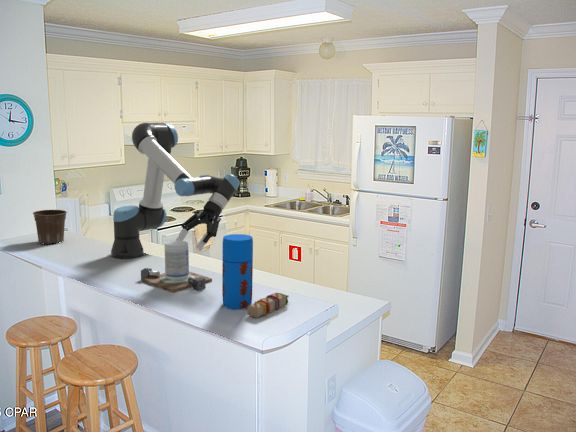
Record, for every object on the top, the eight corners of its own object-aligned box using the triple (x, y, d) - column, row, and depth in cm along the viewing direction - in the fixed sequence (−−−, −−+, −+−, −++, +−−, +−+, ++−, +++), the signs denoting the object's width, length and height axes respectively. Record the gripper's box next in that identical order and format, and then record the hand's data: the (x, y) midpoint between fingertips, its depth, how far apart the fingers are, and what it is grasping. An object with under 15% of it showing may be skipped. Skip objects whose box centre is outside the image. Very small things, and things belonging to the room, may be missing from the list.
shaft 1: (160, 278, 217) (160, 269, 216) (156, 281, 213) (156, 272, 212) (145, 277, 218) (144, 268, 217) (140, 280, 214) (140, 270, 214)
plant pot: (75, 240, 279) (73, 211, 277) (51, 247, 265) (50, 215, 262) (51, 237, 285) (50, 208, 282) (27, 243, 270) (25, 213, 267)
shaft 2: (186, 286, 207) (185, 277, 207) (193, 284, 210) (193, 275, 210) (197, 290, 203) (197, 280, 202) (205, 288, 206) (205, 278, 205)
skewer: (259, 320, 175) (259, 306, 174) (245, 316, 178) (245, 302, 177) (295, 304, 191) (295, 291, 190) (281, 300, 195) (281, 287, 194)
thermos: (218, 301, 192) (219, 235, 187) (246, 297, 196) (247, 233, 192) (227, 311, 182) (227, 241, 178) (256, 307, 186) (257, 239, 182)
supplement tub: (192, 279, 212) (192, 244, 210) (170, 282, 207) (169, 246, 205) (183, 273, 220) (183, 239, 218) (161, 276, 215) (161, 241, 212)
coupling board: (142, 281, 212) (142, 278, 212) (181, 271, 228) (181, 268, 227) (172, 292, 200) (172, 288, 200) (212, 281, 215) (212, 277, 215)
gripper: (240, 215, 218) (212, 256, 209) (201, 207, 233) (174, 245, 225) (230, 203, 213) (202, 245, 204) (191, 196, 228) (164, 235, 220)
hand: (187, 245), depth 215 cm, fingers open, 13 cm apart
